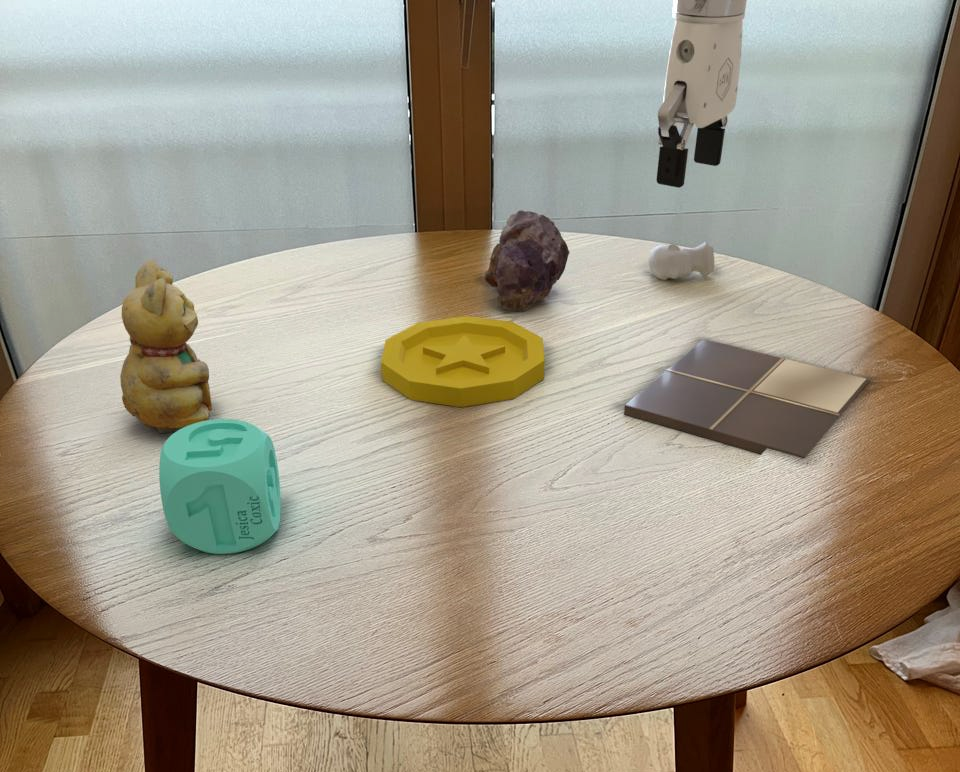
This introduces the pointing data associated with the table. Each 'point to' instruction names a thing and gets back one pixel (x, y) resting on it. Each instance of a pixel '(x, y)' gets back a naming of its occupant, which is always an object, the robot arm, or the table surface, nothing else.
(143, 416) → the decorative figurine
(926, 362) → the table surface
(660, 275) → the smooth white sculpture
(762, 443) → the board
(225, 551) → the decorative dice
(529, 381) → the decorative disc
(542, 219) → the rock
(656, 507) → the table surface
